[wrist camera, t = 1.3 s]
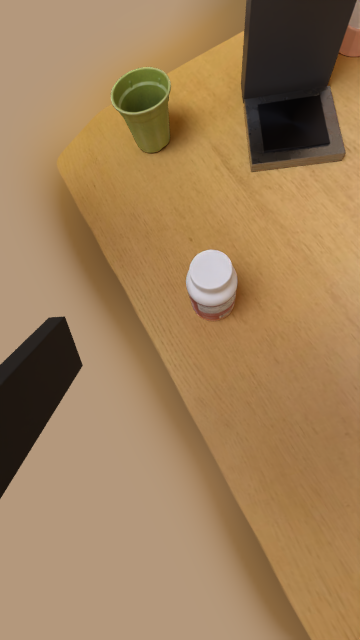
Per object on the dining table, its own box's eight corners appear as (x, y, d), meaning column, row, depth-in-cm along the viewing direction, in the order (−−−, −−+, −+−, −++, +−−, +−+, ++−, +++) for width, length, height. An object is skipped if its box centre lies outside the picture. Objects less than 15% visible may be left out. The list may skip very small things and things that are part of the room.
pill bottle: (195, 279, 42) (187, 240, 31) (237, 284, 40) (243, 245, 30) (188, 319, 40) (177, 291, 29) (231, 325, 39) (235, 298, 28)
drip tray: (341, 160, 44) (346, 151, 42) (250, 172, 45) (252, 163, 44) (326, 95, 47) (330, 83, 46) (243, 107, 49) (244, 97, 47)
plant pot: (125, 163, 49) (106, 116, 41) (131, 122, 52) (114, 70, 44) (177, 159, 48) (168, 110, 40) (180, 117, 50) (172, 63, 42)
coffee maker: (330, 113, 46) (440, -165, 23) (245, 126, 48) (269, -122, 25) (321, 70, 49) (410, -218, 26) (240, 83, 51) (258, -175, 28)
